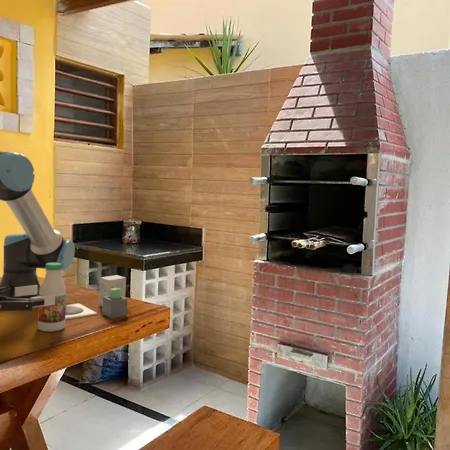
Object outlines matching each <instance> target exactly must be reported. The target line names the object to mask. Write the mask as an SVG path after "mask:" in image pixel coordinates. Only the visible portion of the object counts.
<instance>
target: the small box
mask: <svg viewBox="0 0 450 450" xmlns="http://www.w3.org/2000/svg"><path fill="white" fill-rule="evenodd" d="M126 283H127V277H125V276H121V275H118V274H115V275H108V276H102V277H99V285H98V306H100V307H102V308H103V297H105V296H110V289H111V288H120V289H121V296H123V297H125V298H126V288H127V287H126V286H127V284H126Z"/></svg>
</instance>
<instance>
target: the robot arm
mask: <svg viewBox="0 0 450 450" xmlns="http://www.w3.org/2000/svg"><path fill="white" fill-rule="evenodd" d="M34 172H35V169H34V166H33V163H32V162H31V160H30V159H29V158H28V157H27V156H26V155H24V154H23V153H19V152H14V151H11V150H10V151H0V201H1V202H6V204H7V205H8V207H9V209H10V211H11V212H12V214H13V215H14V217H15V218H16V220H17V222H18V223H19V224H20V226H21V228H22V229H23V231H24V233H22V232H21V233H14V234H8V235H6V236H5V237H4V240H3V241H4V242H3V267H2V268H3V272H2V276H1V279H0V312H1V311H2V312H10V311H13V312H14V311H16V312H17V311H23V312H25V311H28V312H32V311H33V309H34V308H39V307H41V306H49V305H55V295H49V296H41V297H39V296H37V295H39V292H40V287H41V284H40V283H41V282H40V281H39V277H38V274H37V269H43V270H46V268H45V266H46V264H47V263H61V264H62V269H61V270H62V271H61V272H63V271H66V270H68V269H69V268H70V267H71V265H72V264H73V261H74V257H75V253H76V249H75V243H74V242H73V241H72V240H70V239H65V238H64V237H63V236H62V234H61V232H60V231H58V230H57V229H54V228H53V226H52V224H51V223H50V220H49V219H48V217H47V215H46V214H45V212H44V211H43V208H42V206H41V205H40V202H39V201H38V199H37V198H36V196H35V193H34V192H33V191H32V188H33V184H34V181H35V177H36V175H35V173H34ZM27 297H30V298H27Z"/></svg>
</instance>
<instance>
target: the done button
mask: <svg viewBox="0 0 450 450" xmlns="http://www.w3.org/2000/svg"><path fill="white" fill-rule="evenodd" d="M110 299H112V300H116V299H121V289H120V288H111V289H110Z"/></svg>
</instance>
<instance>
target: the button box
mask: <svg viewBox="0 0 450 450" xmlns="http://www.w3.org/2000/svg"><path fill="white" fill-rule="evenodd" d="M101 312H102V315H104V316H105V317H108V318H109V319H115V318H117V319H118V318H123V317H127V316H128V298H127V297H126V296H125V297H123V296H121V299H116V300H112V299H110V296H105V297H103V307H102V310H101Z"/></svg>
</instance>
